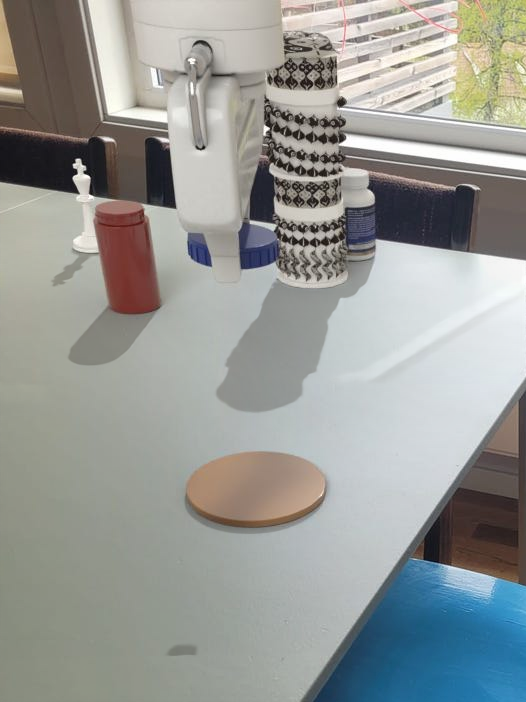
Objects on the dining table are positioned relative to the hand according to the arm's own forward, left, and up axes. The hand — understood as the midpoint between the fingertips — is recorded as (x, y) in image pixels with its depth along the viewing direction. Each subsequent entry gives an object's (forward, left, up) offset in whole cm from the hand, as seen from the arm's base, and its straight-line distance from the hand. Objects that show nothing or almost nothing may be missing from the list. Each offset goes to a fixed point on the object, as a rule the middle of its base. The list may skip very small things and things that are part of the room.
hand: (233, 261), depth 69 cm
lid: (0, 0, +1) cm, 2 cm away
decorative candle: (+3, +50, -18) cm, 53 cm away
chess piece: (-24, +59, -18) cm, 66 cm away
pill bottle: (+8, +58, -18) cm, 61 cm away
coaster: (0, 0, -18) cm, 18 cm away
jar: (-16, +40, -18) cm, 46 cm away
